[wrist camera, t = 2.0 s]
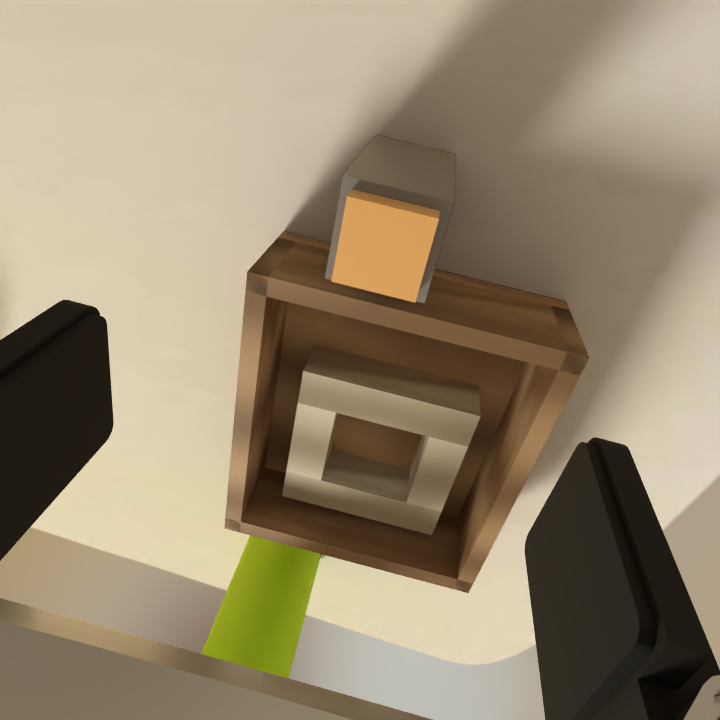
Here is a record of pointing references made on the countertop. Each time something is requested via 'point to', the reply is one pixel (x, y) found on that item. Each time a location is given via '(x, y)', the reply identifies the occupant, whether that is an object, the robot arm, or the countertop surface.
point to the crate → (391, 413)
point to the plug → (392, 218)
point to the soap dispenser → (264, 607)
